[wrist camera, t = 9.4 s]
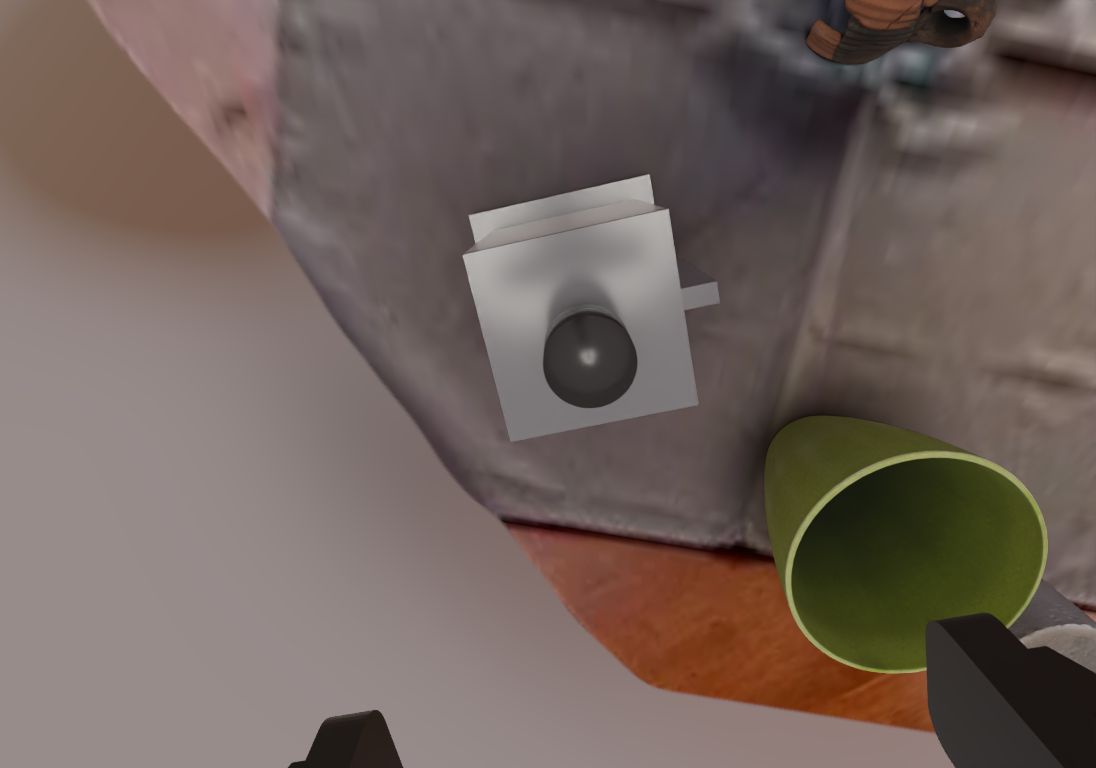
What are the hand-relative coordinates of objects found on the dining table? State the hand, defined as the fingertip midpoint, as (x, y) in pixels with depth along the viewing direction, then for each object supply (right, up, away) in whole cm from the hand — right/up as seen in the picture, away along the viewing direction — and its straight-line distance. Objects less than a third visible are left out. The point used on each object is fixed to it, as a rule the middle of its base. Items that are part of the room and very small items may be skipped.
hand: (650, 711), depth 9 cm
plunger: (+1, +11, +35) cm, 37 cm away
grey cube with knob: (+1, +13, +38) cm, 40 cm away
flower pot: (+20, -1, +42) cm, 47 cm away
